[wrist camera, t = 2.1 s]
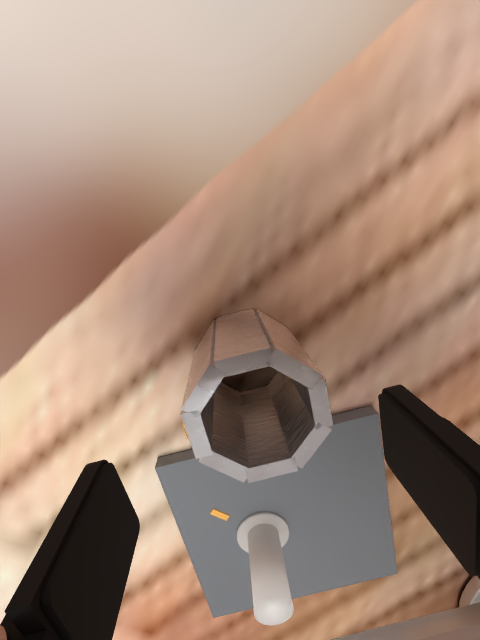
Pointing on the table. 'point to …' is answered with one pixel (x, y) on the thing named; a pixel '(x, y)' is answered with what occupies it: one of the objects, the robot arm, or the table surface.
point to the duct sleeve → (254, 400)
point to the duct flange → (286, 523)
